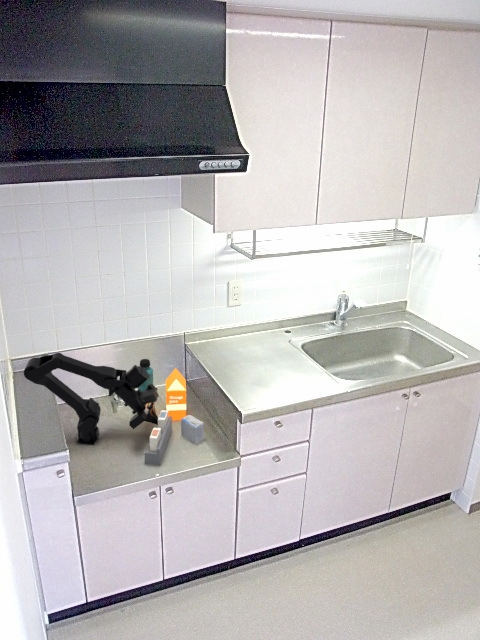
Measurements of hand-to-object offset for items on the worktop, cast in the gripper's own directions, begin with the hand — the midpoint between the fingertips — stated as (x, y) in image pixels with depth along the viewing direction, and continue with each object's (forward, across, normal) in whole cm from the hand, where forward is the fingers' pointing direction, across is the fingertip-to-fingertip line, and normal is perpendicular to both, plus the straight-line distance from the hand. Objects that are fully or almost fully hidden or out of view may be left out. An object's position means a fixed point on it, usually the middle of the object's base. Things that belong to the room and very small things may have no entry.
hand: (159, 423), depth 201 cm
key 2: (+5, 0, +3) cm, 6 cm away
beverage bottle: (-2, +24, +13) cm, 27 cm away
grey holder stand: (+6, -6, +4) cm, 9 cm away
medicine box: (+14, +2, -3) cm, 14 cm away
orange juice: (+8, +16, +3) cm, 18 cm away
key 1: (+5, -11, +3) cm, 13 cm away
